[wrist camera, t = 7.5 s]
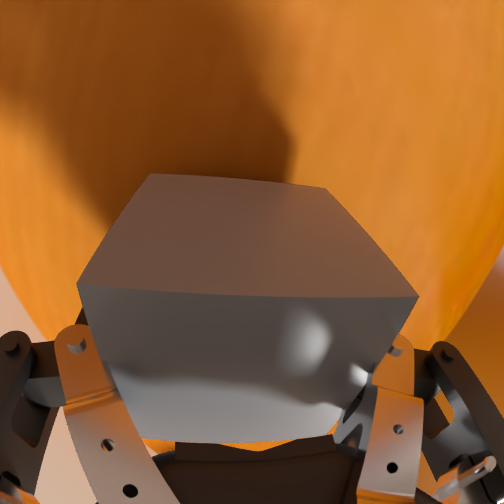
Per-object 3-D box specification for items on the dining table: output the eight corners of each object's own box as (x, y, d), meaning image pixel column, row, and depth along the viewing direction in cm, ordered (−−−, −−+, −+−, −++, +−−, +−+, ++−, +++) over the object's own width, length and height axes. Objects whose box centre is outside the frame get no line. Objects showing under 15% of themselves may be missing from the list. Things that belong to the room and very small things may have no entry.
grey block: (150, 173, 10) (76, 283, 4) (325, 188, 11) (419, 296, 5) (155, 310, 13) (135, 437, 8) (291, 316, 14) (325, 434, 9)
